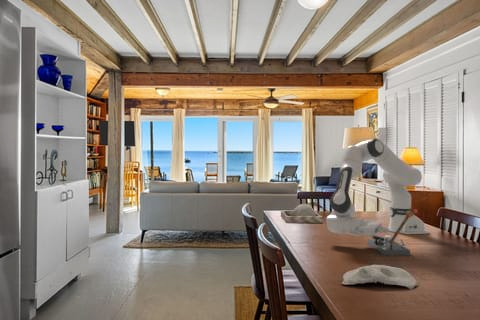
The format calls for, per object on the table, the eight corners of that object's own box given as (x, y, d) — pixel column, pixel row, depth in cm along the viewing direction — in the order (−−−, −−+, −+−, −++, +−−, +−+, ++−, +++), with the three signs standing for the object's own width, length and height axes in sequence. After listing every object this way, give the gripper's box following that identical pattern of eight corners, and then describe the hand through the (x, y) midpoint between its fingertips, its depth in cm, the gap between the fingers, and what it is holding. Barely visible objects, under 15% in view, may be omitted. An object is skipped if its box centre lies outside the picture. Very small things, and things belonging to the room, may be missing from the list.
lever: (384, 244, 171) (407, 209, 166) (386, 242, 175) (408, 208, 169) (390, 248, 170) (414, 213, 164) (392, 246, 173) (415, 212, 168)
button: (389, 240, 183) (390, 235, 183) (392, 241, 180) (392, 237, 180) (383, 240, 183) (383, 235, 183) (386, 241, 180) (386, 236, 180)
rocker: (381, 239, 184) (381, 236, 184) (383, 241, 180) (384, 238, 180) (371, 237, 183) (372, 234, 183) (374, 238, 180) (374, 236, 180)
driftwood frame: (313, 216, 266) (313, 210, 266) (322, 222, 241) (322, 216, 241) (280, 215, 265) (280, 210, 265) (285, 222, 241) (285, 216, 241)
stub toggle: (402, 248, 167) (399, 240, 168) (403, 247, 169) (400, 239, 170) (405, 248, 167) (402, 239, 167) (406, 247, 169) (403, 238, 169)
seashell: (302, 226, 262) (290, 209, 263) (318, 216, 260) (306, 198, 261) (303, 230, 247) (290, 212, 248) (320, 219, 245) (306, 201, 246)
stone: (408, 266, 139) (425, 281, 124) (405, 284, 139) (422, 301, 124) (336, 254, 141) (345, 267, 126) (333, 272, 141) (341, 287, 126)
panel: (391, 244, 186) (391, 234, 186) (410, 255, 166) (410, 244, 166) (367, 244, 186) (368, 234, 186) (384, 255, 166) (384, 244, 166)
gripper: (353, 223, 170) (384, 227, 163) (363, 217, 188) (391, 220, 181) (353, 237, 171) (384, 241, 163) (363, 229, 188) (391, 233, 181)
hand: (388, 230), depth 172 cm, fingers closed
